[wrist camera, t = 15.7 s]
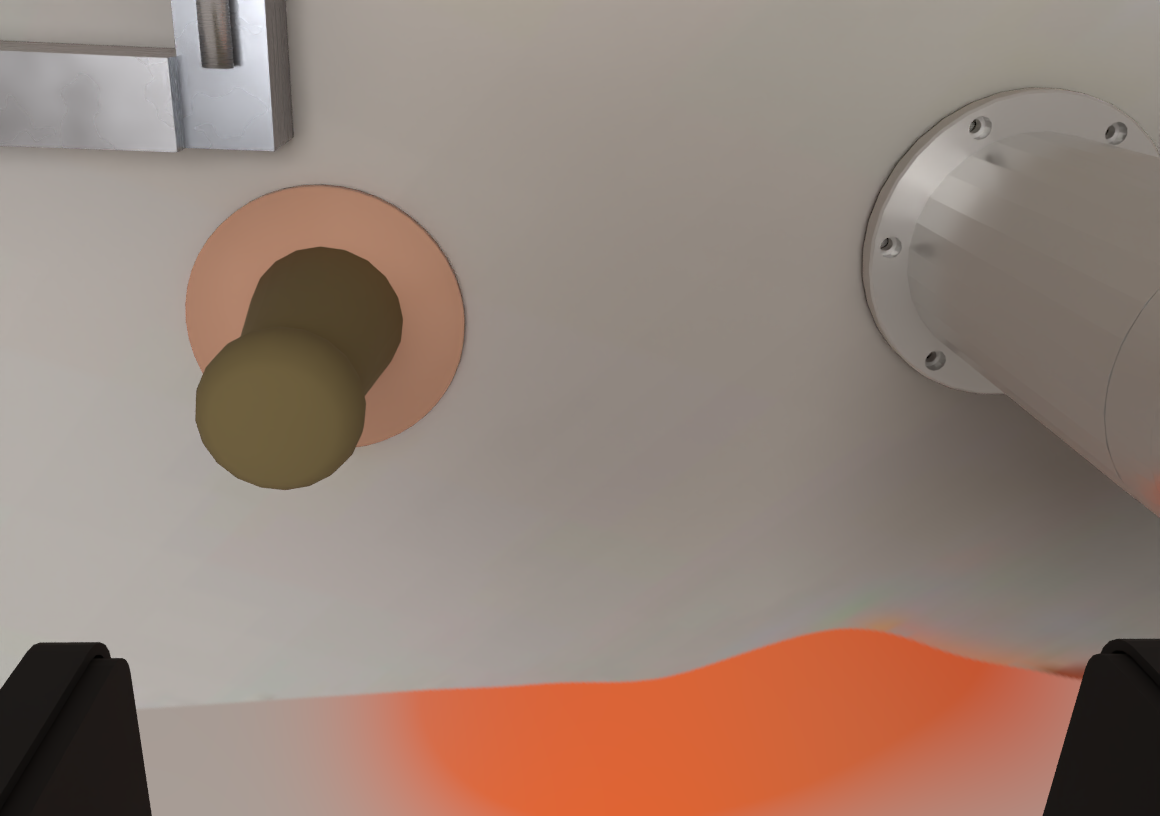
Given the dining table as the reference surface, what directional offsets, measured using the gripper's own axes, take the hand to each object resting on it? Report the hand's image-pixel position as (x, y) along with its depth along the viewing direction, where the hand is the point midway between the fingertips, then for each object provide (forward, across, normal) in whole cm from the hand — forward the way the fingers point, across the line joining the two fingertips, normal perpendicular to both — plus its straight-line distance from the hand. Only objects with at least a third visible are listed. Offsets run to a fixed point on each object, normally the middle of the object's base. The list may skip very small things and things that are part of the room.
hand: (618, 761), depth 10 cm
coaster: (+32, +8, +6) cm, 34 cm away
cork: (+32, +8, +6) cm, 33 cm away
